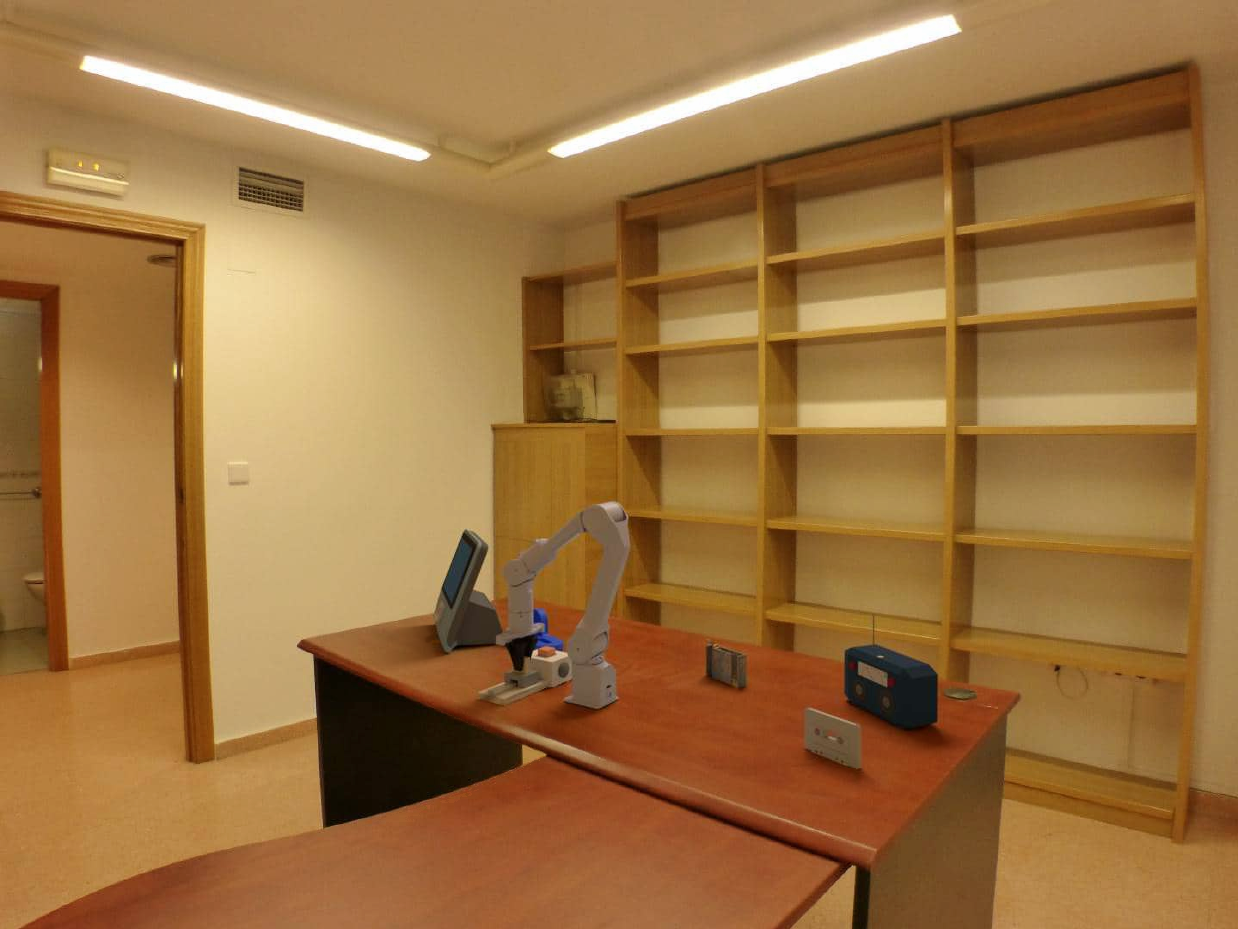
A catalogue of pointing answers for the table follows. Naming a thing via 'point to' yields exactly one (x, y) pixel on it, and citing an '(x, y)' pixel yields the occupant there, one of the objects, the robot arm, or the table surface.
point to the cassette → (838, 749)
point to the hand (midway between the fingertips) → (521, 669)
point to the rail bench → (512, 693)
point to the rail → (503, 688)
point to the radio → (891, 685)
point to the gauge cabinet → (552, 667)
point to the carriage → (522, 675)
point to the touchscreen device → (465, 599)
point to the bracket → (544, 637)
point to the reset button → (546, 652)
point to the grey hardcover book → (725, 665)
